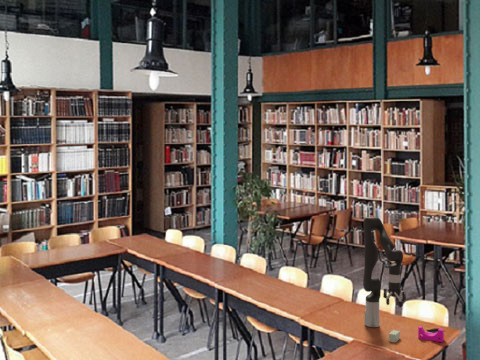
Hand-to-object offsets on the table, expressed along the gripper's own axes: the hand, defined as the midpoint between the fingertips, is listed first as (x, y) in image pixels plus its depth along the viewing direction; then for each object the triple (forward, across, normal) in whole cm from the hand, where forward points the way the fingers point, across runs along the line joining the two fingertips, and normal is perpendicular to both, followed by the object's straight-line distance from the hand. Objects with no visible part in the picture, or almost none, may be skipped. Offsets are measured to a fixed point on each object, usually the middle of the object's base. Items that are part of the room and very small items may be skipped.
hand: (394, 305), depth 351 cm
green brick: (+22, 0, 0) cm, 22 cm away
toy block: (+22, +18, +17) cm, 33 cm away
